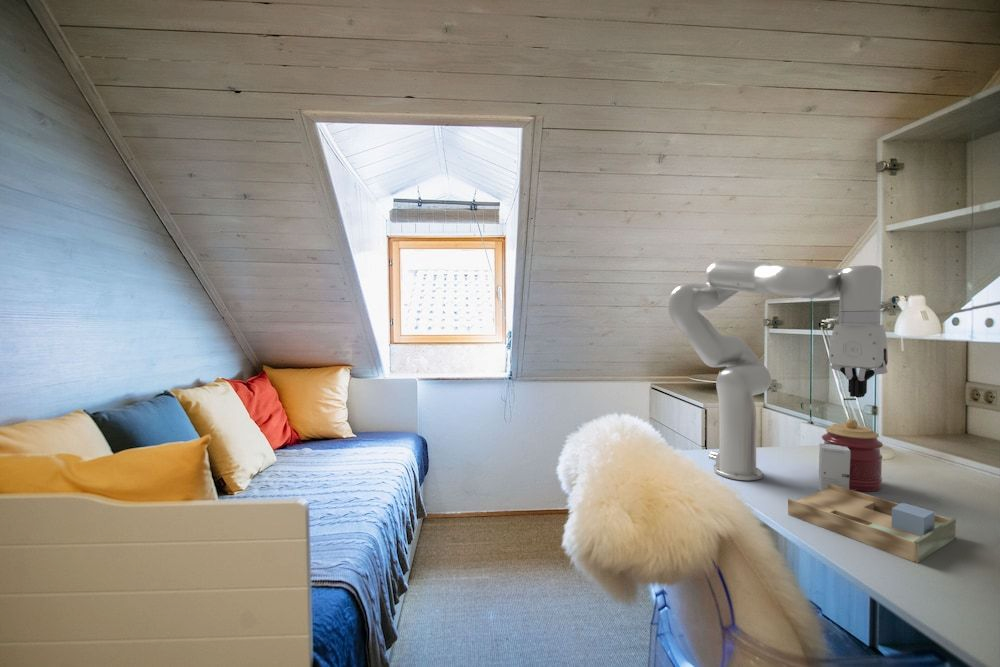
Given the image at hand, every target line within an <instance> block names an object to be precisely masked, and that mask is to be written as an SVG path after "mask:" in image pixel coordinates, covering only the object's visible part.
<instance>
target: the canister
mask: <svg viewBox="0 0 1000 667" xmlns="http://www.w3.org/2000/svg"><path fill="white" fill-rule="evenodd" d="M825 431H826V433H825V434H822V435H821V439H822V440H823V444H831V445H838V446H846V447H848V448H849V450H850V451H851V453H850V478H849V489H850V490H854V491H857V492H876V491H879V490H881V489H882V486H883V477H882V469H883V468H882V464H883V463H882V462H883V455H882V453H881V449H882V447H883V446H884V444H883V442H882V441H880V440H879V439H877V438H879V433H878V432H877V431H874V430H873V429H872V428H870V427H868V426H864V425H859V422H858V421H857V420H856V419H854V418H847V419H846V421H845V422H844V423H833V424H831V425H830V426H827V427H825Z"/></svg>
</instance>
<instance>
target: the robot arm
mask: <svg viewBox="0 0 1000 667" xmlns="http://www.w3.org/2000/svg"><path fill="white" fill-rule="evenodd" d="M882 272H883V271H882V269H881V267H880V266H878V265H869V264H868V265H867V264H866V265H854V266H847V267H844V268H830V267H829V268H827V267H820V266H817V267H816V266H803V265H802V266H800V265H799V266H797V265H783V264H772V263H771V262H766V261H765V262H764V261H763V262H761V261H745V260H744V261H743V260H728V259H727V260H726V259H721V260H717V261H714V262H712V263H711V264H710V265H708V267H707V269H706V272H705V279H706V283H685V284H680V285H678V286H677V287H675V288H674V289H673V290H672V292H671V293H670V296H669V297H668V303H667V304H668V306H667V307H668V313H669V316H670V318H671V320H672V323H673V324H675V326H676V327H677V328H678V330H679V331H680V332H681V333H682V334H683V336H684V338H685V339H686V340H687V342H688V343H689V344H690V346H691V347H692V348H693V350H694V351H695V353H696V354H697V355H698V357H699V358H700V360H702V362H703V363H704V364H705V365H706V366H708V367H710V368H723V367H725V368H723V369H722V370H721V371H720V372H719V373H718V375H717V377H716V380H715V385H716V386H715V388H716V392H717V398H718V406H719V407H718V408H719V409H718V410H719V411H718V412H719V414H718V415H719V419H718V420H719V429H718V430H719V432H718V433H719V441H718V443H719V448H718V449H719V452H718V451H714V450H711V451H710V454H708V459H709V460H713V461H715V464H714V465H713V471H714V472H715V473H716V474H717V475H719V476H721V477H724V478H727V479H731V480H739V481H749V482H750V481H756V480H760V479H762V478H763V475H764V474H763V471H762V470H761V469H760V468H759V467H757V408H756V404H755V400H754V396H757V395H761V394H763V393H765V392H767V391H768V390H769V388H770V387H771V384H772V377H771V373H770V372H769V370H768V368H767V366H765V364H764V363H763V362H762V360H761V359H760V358H759V357H758V355H756V353H755V352H754V351H753V349H751V347H750V346H749V345H748V344H747V343H746V342H745V341H744V340H743V339H742V338H740V337H738V336H736V335H730V334H725V335H723V334H721V333H720V332H719V331H718V330H717V329H716V328H715V327H714V325H713V324H712V322H711V321H710V320H709V319H707V318H706V317H705V316H704V315H703V314H701V312H699V311H710V310H713V309H715V308H717V307H719V306H720V305H722V304H723V303H724V302H726V301H728V299H731V297H734V296H735V295H736V294H737V293H739V292H745V293H751V294H753V293H754V294H759V295H760V294H762V295H765V294H766V295H775V296H776V295H777V296H784V297H792V298H793V297H794V298H802V299H825V300H826V299H834V298H839V303H838V304H839V306H838V308H839V311H838V313H834V314H833V316H832V320H837V323H838V324H834V326H833V329H832V330H833V331H832V333H831V338H830V345H829V352H828V353H829V354H828V359H829V360H828V361H829V364H831V365H830V368H831V369H832V370H834V371H837V372H841V374H843V375H844V376H845V378H846V379H847V380H848V385H847V386H848V387H847V388H848V393H849V396H850V397H855V398H858V399H859V398H864V397H865V395H866V394H867V392H868V391H867V390H868V388H867V387H868V381H869V380H870V379H871V378H872V377H874V376H875V375H876V376H877V375H884V374H888V369H887V365H888V362H889V348H888V339H887V334H886V329H885V326H884V325H883V324H881V318H882V317H881V313H882V312H881V310H882V309H881V308H882V307H881V306H882V278H883V277H882V276H883V273H882ZM858 369H859V371H858Z"/></svg>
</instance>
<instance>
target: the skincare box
mask: <svg viewBox="0 0 1000 667" xmlns="http://www.w3.org/2000/svg"><path fill="white" fill-rule="evenodd" d="M850 453H851V451H850V450H849V448H848V447H846V446H838V445H831V444H824V443H821V442H820V443H819V456H818V458H819V459H818V485H817V486H818V491H819V492H820V491H822V490H825V489H828V483H830V484H833V485H837V486H840V487H843V488H847V489H849V478H850Z"/></svg>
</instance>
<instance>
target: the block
mask: <svg viewBox="0 0 1000 667" xmlns="http://www.w3.org/2000/svg"><path fill="white" fill-rule="evenodd" d="M898 504H899V505H897V506H895V507H893V508H892V526H891V527H893V528H896V529H899V530H902V531H905V532H908V533H911V534H914V535H917V536H919V537H922V536H924V535H925V534H927V533H929V532H930V531H932V530H934V520H935V515H936V514H935V511H932V510H930V509H925V508H923V507H922V508H921V507H919V506H915V505H911V504H909V503H905V502H901V503H898Z"/></svg>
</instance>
